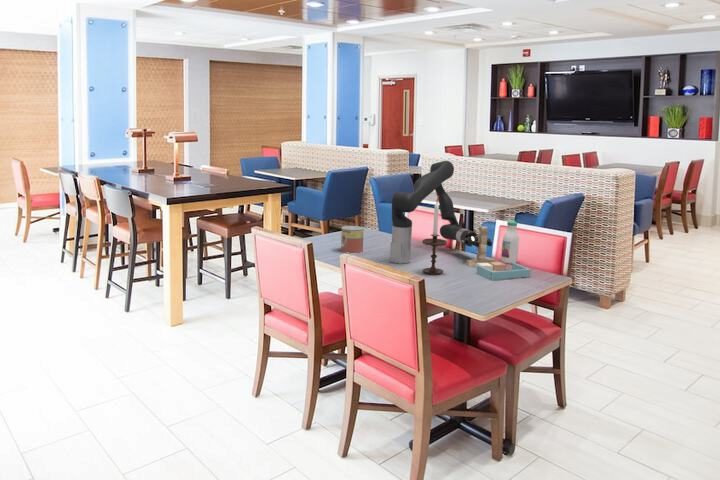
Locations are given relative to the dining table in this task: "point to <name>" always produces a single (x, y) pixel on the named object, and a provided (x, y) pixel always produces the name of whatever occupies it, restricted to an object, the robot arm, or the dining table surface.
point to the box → (505, 272)
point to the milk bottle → (510, 244)
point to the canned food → (352, 239)
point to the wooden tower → (481, 248)
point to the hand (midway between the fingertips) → (485, 244)
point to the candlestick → (434, 244)
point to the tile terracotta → (498, 265)
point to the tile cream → (485, 266)
